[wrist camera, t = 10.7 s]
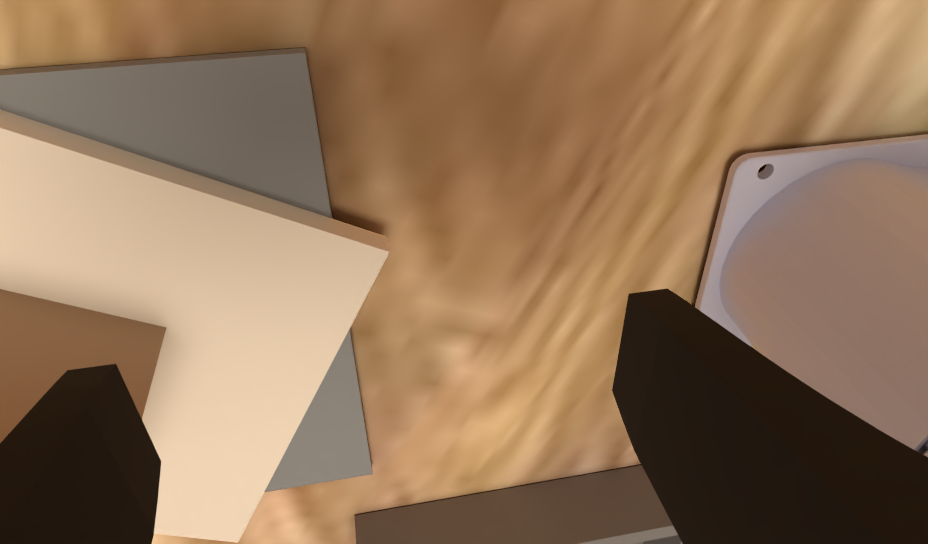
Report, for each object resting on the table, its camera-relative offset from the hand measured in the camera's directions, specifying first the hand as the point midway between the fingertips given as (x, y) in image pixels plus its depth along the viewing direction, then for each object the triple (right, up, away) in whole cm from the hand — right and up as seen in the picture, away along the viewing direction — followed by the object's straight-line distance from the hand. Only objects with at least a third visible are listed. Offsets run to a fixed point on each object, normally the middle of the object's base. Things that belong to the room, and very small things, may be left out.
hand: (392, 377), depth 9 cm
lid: (-10, -1, +10) cm, 14 cm away
